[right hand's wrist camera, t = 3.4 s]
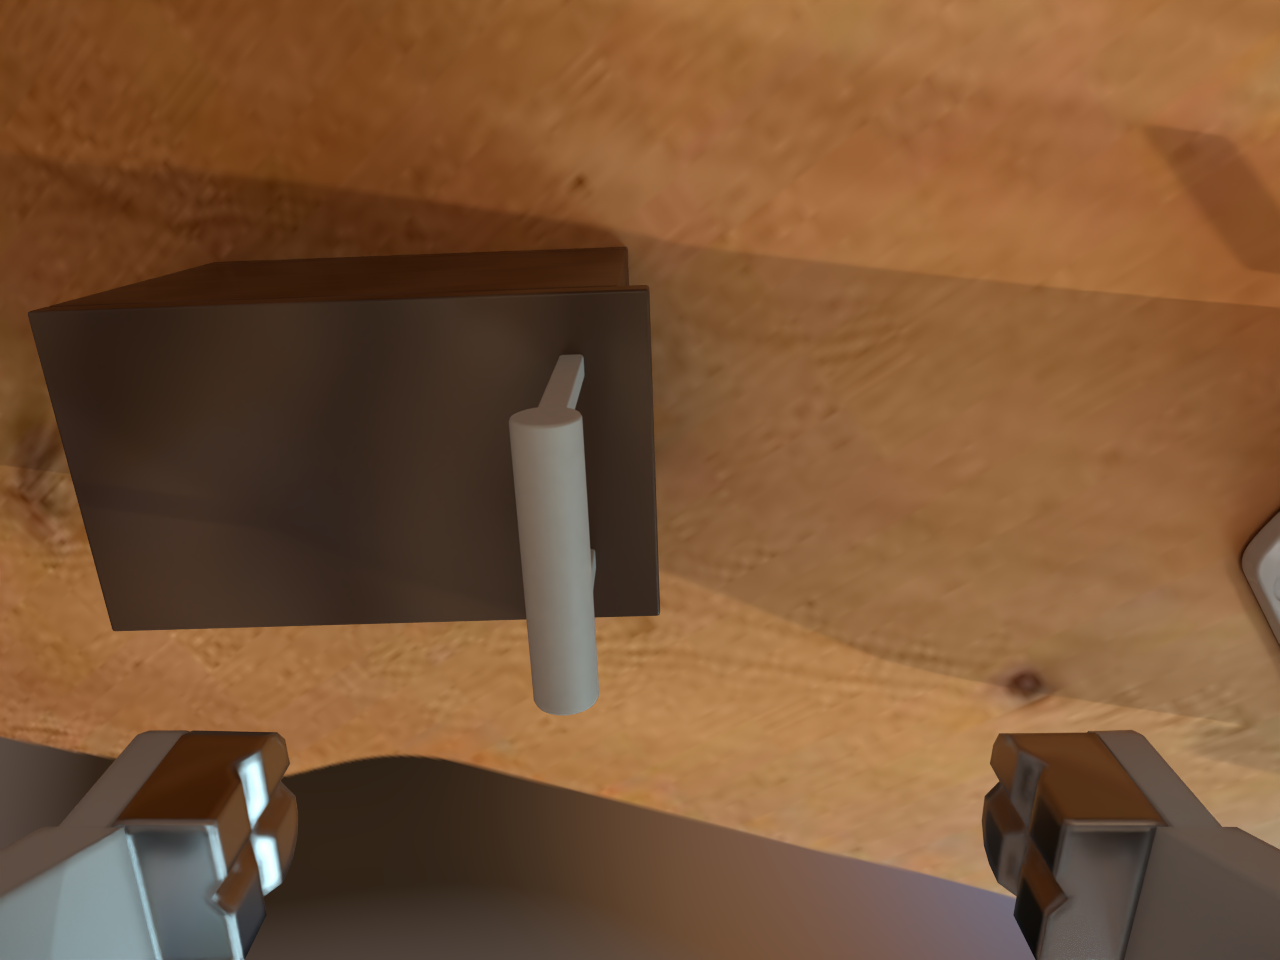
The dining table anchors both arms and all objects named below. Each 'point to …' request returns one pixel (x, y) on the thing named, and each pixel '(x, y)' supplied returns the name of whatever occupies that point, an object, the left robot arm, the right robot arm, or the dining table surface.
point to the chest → (377, 276)
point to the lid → (368, 462)
